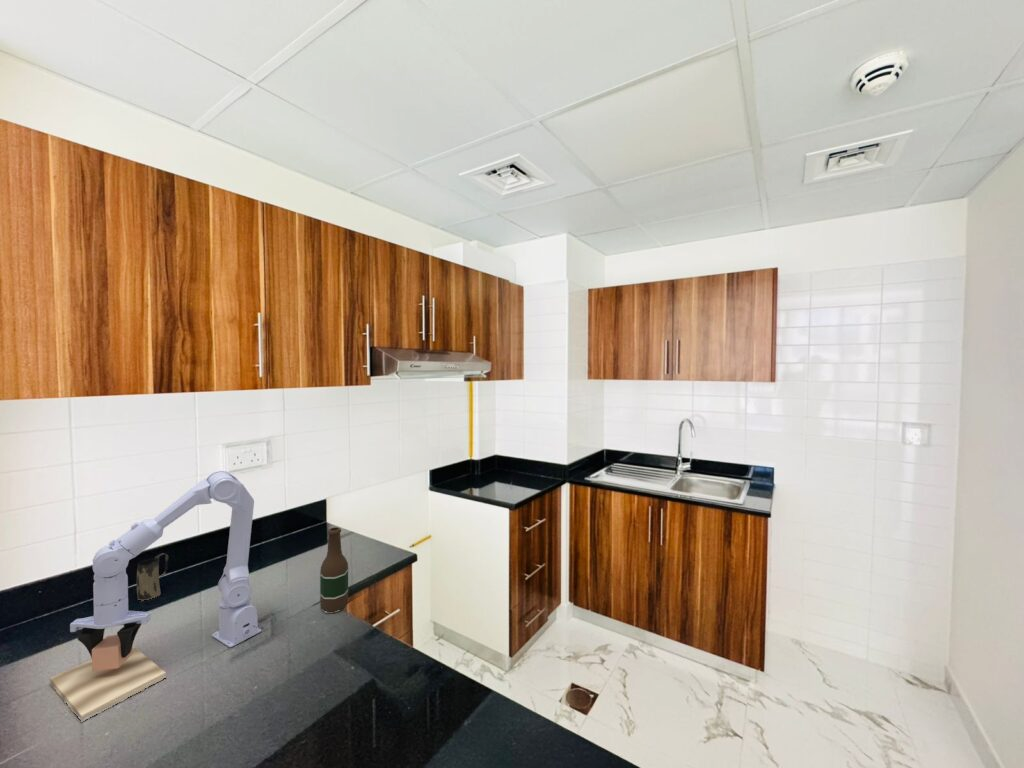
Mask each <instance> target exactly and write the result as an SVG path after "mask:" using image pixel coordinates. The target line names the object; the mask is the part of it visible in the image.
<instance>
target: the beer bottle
mask: <svg viewBox="0 0 1024 768" xmlns="http://www.w3.org/2000/svg"><path fill="white" fill-rule="evenodd" d="M341 532H342V530H341V528H340V527H337V526H336V527H335V526H334V527H331V528H329V529H328V530H327V534H328V539H327V540H328V541H327V552H326V557H325V558H324V560H323V561H322V563H321V566H320V572H319V577H320V578H319V582H320V583H319V587H320V590H319V593H320V595H319V596H320V597H319V598H320V602H319V604H320V610H321V609H323V610H324V611H327V612H335V611H337V610H342V611H344V610H345V608H346V607H347V605H348V604H349V564H348V561H347V560H348V559H347V558H346V556H345V555H344V554H343V551H342V542H341V541H342V540H341Z"/></svg>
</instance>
